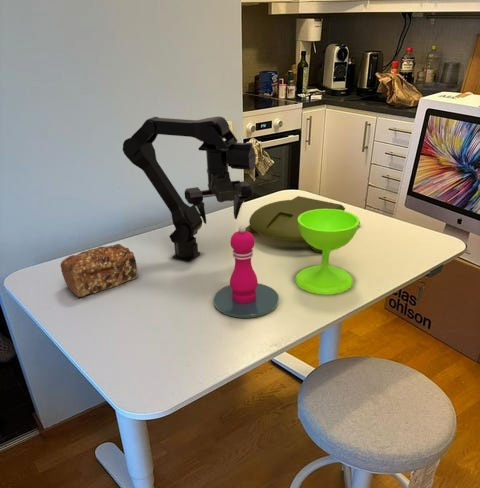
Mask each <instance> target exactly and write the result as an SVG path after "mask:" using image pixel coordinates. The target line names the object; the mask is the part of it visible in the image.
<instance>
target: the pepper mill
mask: <svg viewBox="0 0 480 488" xmlns="http://www.w3.org/2000/svg"><path fill="white" fill-rule="evenodd" d="M255 241H256V240H255V236H254V235H252V234H251V233H250V232H248V231H246V226H245V225H240V226H239V227H238V231H236V232H234V233H233V234H232V235H231V237H230V241H229V242H230V243H229V245H230V247H231V248H232V249H233V250H232V257H233V258H234V268H233V271H232V272H231V275H230V277H229V285H230V287H231V289H232V290H233V291H232V299H233V300H234V301H235V302H238V303H250V302H252V301H254V300H255V299H256V291H255V289H256V287H257V285H258V283H259V282H258V277H257V274H256V272H255V270H254V268H253V265H252V257H253V256H254V249H253V248H254V247H255V244H256V242H255Z"/></svg>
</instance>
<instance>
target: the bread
mask: <svg viewBox="0 0 480 488" xmlns="http://www.w3.org/2000/svg"><path fill="white" fill-rule="evenodd" d="M59 266H60V271H61V274H62V278H63V280H64V283H65V286H66V287H67V288H68V289H69V290H70V292H72V293H73V295H75V296H76V297H77V298H80V297H82V298H83V297H85V296H86V295H89V294H91V295H92V294H95V293H98V292H102V291H105V290H108V289H112V288H114V287H118V286H120V285H121V284H124V283H127V282H129V281H131V280H135V279H136V278H137V277H138V266H137V260H136V257H135V255H134V252H133V251H131V250H130V248H128V247H125V246H123V245H122V244H120V243H117V244H112V245H107V246H98V247H95V248H91V249H87V250H85V251H82V252H80V253H77V254H72V255H69V256H68V257H66V258H64V259H63V260H61V263H60V265H59Z"/></svg>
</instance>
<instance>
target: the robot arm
mask: <svg viewBox="0 0 480 488" xmlns="http://www.w3.org/2000/svg"><path fill="white" fill-rule="evenodd" d="M158 135H163V136H174V137H175V136H176V137H187V138H189V137H190V138H194V139H196V140H198V141H200V142H202V144H201V145H200V146H199V147H198V151H202V152H203V151H204V152H205V154H206V173H207V188H208V189H205V190H203V189H202V190H201V189H200V188H199V187H198V186H197V187H196V186H195V187H188V188H185V190H184V199H185V201H187V204H186V203H185V202H184V200H183V199H182V196H180V194H179V193H178V190H177V189H176V188H175V186H174V185H173V183H172V182H171V181H170V179H169V177H168V176H167V174H166V172H164V170H163V168H162V166H161V165H160V164H159V162H158V160H157V153H156V149H155V146H154V145H153V143H154V142H155V141H156V139H157V137H158ZM122 153H123V154H124V156H125V157H126V158H127V159H128V160H129V161H130V162H131V164H133V165H134V166H136V167H137V168H139V169H140V170H142V172H143V173H144V174H145V176H146V177H147V179H148V180H149V182H150V183H151V185H152V186H153V188H154V189H155V191H156V192H157V194H158V195H159V197H160V198H161V200H162V201H163V203H164V204H165V205H166V207H167V209H168V211H169V212H170V215H171V220H172V225H173V227H174V228H175V229H174V231H173V232H171V234H170V235H169V239H170V241H171V243H173V246H174V254H173V255H172V257H171V258H172V259H175V260H179V261H183V262H188V263H190V262H191V261H192V260H194V259H196V258H197V257H198V256H200V255H201V252H200V251H199V247H198V245H199V244H198V242H197V237H195V236H196V235H197V234H198V232H199V230H200V229H201V228H202V226H203V223H204V225H207V216H206V215H207V214H206V209H205V202H204V198H211V197H215V198H216V201H217V202H218V203H224V202H233V218H234V220H237V219H238V218H239V217H238V216H239V214H240V210H241V208H242V205H243V203H244V202H245V201H246V200H248V199H250V197H252V196H254V187H253V185H252V184H250V183H249V182H247V181H246V180H242V181H240V180H231V175H230V171H229V167H230V169H233V170H244V171H253V170H254V169H255V166H256V163H257V162H256V161H257V153H256V150H255V148H254V144H253V142H239V141H238V139H237V137H236V136H235V134H234V133H233V132H232V130H231V129H230V125H229V122H228V121H227V120H226V118H225V117H223V116H212V117H206V118H202V119H201V118H200V119H181V118H169V117H168V118H166V117H159V116H153V117H150V118H148V119H146V120H144V122H143V123H142V125H141V127H139V128H138V129H137V131H135V132H134V133H133V134H132V135H131V136H130V137H129V138H126V139H125V140H124V141H123V143H122ZM189 205H191V206H189Z"/></svg>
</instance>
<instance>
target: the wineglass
mask: <svg viewBox="0 0 480 488" xmlns="http://www.w3.org/2000/svg"><path fill="white" fill-rule="evenodd" d="M359 221H360V218H359V217H358V215H356V214H354V213H352V212H350V211H347V210H344V211H343V210H337V209H316V210H310V211H307V212H304V213H302V214H301V215H300V216H299V217H298V228H299V230H300V233H301V235H302V237H303V238H304V239H305V240H304V241H305V242H306V243H307V244H308V245H310V246H311V247H312V246H313V247H315V248H317V249H320V250H323V251H322V252H321V253H322V254H321V265H320V264H319V265H312V266H308V267H306V268H303V269H302V270H300V271H299V272H298V273H297V274H296V276H295V283H296V285H297V286H298V288H300V289H302V290H304V291H306V292H309V293H311V294H317V295H325V296H326V295H329V296H330V295H337V294H341V293H345V292H346V291H348V290H349V289H351V288H352V286H353V284H354V281H353V277H352V275H351V274H350V273H349V272H347V271H346V270H344V269H342V268H340V267H338V266H333V265H330V251H336V250H339V249H340V248H342V247H344V246H346V245H348V244H349V243H350V242H351V241H352V240H353V238H354V237H355V235H356V234H357V231H358V230H359V225H360V224H359Z"/></svg>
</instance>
